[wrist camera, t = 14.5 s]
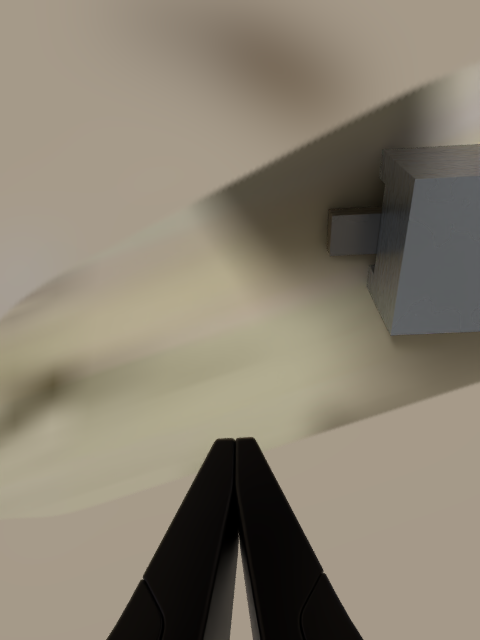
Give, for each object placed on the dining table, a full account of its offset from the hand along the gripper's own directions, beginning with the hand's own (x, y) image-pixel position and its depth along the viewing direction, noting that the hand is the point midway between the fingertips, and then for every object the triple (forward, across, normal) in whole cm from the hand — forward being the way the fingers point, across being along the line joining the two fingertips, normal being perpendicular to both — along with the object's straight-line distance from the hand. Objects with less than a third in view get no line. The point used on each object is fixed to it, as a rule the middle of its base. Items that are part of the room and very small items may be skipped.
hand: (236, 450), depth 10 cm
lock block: (+12, -10, 0) cm, 16 cm away
